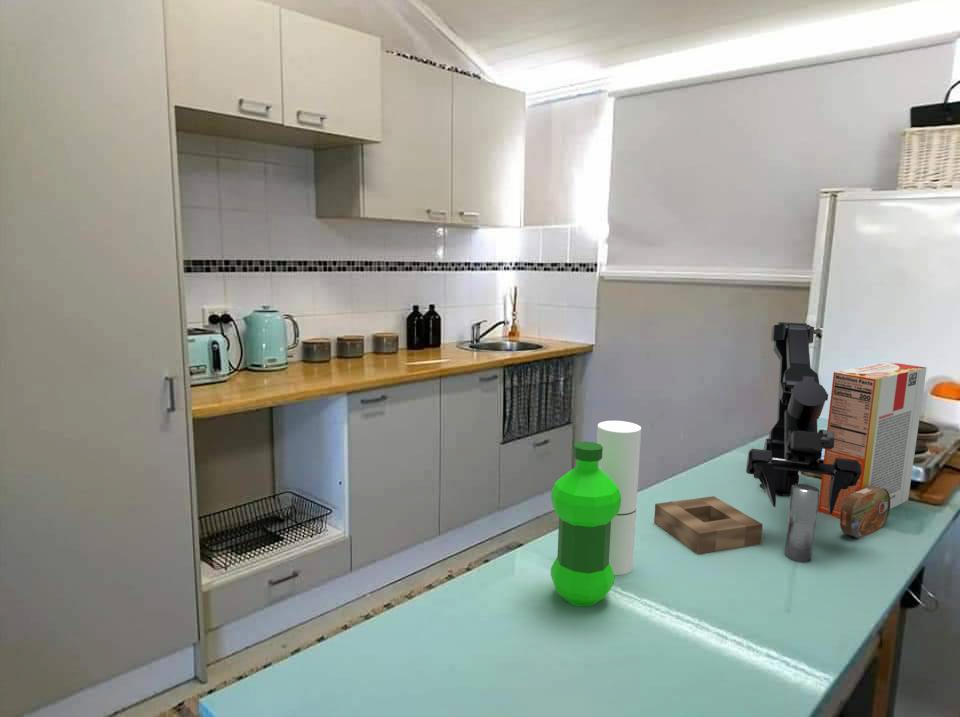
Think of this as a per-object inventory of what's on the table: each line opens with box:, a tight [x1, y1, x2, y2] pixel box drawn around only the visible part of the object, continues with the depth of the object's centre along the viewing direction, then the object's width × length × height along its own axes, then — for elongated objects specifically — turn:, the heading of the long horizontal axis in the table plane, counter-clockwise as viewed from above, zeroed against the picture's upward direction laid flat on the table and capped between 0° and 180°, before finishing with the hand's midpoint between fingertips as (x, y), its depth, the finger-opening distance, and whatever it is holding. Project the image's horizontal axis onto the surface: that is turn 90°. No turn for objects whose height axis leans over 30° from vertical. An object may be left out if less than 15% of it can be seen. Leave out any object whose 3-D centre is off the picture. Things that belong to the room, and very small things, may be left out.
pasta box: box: [817, 361, 928, 520], centre depth 139 cm, size 23×8×30 cm, turn 125°
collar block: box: [653, 495, 764, 555], centre depth 127 cm, size 14×14×4 cm
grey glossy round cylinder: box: [784, 483, 820, 563], centre depth 117 cm, size 4×4×13 cm
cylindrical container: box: [596, 420, 642, 576], centre depth 112 cm, size 7×7×25 cm
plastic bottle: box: [550, 441, 621, 608], centre depth 101 cm, size 10×10×25 cm
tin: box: [839, 486, 891, 539], centre depth 129 cm, size 15×3×8 cm, turn 124°
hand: (802, 509), depth 118 cm, fingers open, 9 cm apart
